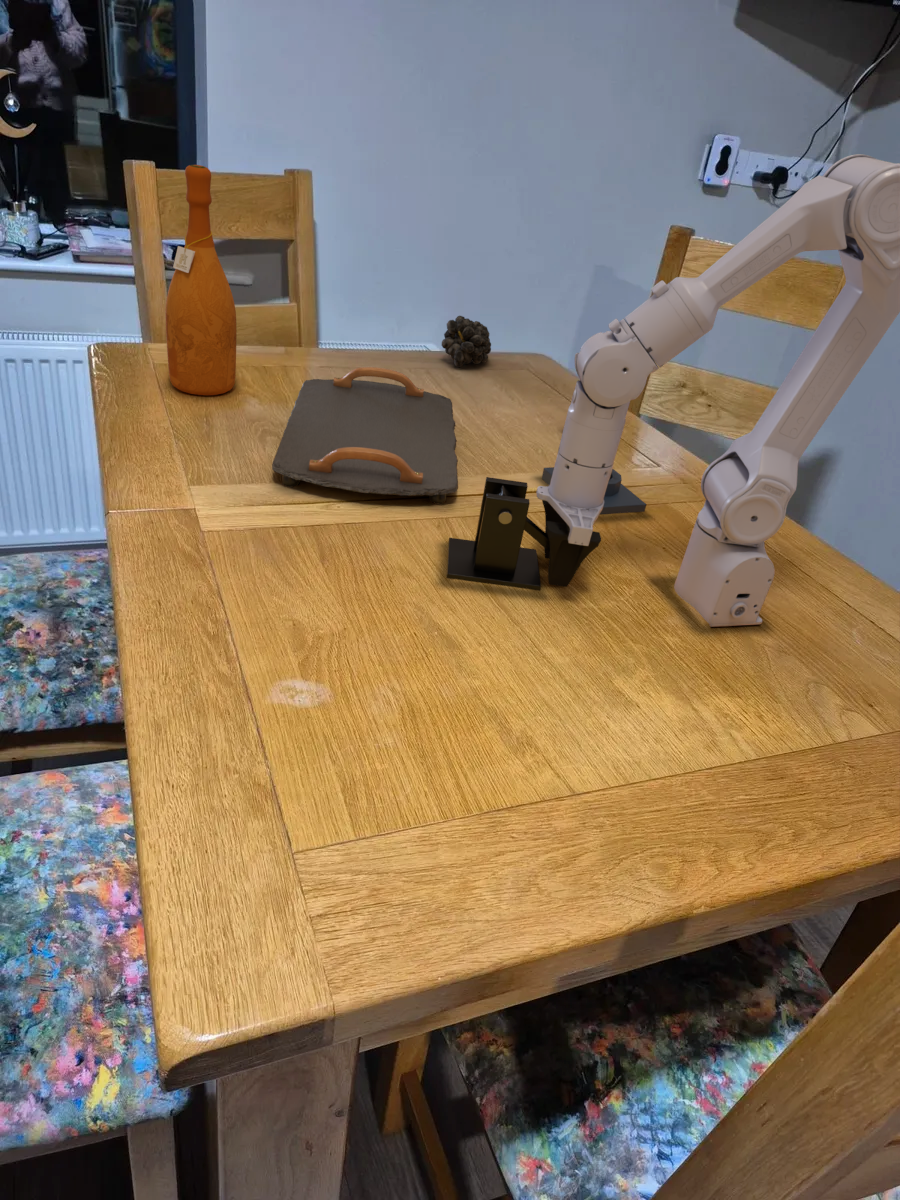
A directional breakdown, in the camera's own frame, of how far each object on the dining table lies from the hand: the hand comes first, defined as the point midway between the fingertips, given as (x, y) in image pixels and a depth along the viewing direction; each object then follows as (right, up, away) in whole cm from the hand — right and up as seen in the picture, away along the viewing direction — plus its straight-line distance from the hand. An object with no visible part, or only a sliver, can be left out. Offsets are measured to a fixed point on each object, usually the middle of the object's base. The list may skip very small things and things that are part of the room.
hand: (555, 570), depth 91 cm
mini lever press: (-7, 0, 0) cm, 7 cm away
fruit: (-11, +46, +64) cm, 79 cm away
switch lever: (-4, +4, -2) cm, 6 cm away
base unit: (+7, +11, +20) cm, 24 cm away
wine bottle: (-49, +29, +34) cm, 66 cm away
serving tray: (-22, +18, +24) cm, 37 cm away
